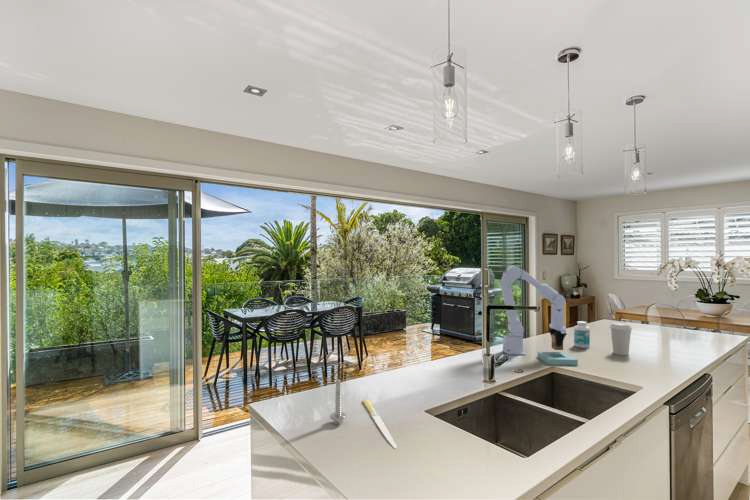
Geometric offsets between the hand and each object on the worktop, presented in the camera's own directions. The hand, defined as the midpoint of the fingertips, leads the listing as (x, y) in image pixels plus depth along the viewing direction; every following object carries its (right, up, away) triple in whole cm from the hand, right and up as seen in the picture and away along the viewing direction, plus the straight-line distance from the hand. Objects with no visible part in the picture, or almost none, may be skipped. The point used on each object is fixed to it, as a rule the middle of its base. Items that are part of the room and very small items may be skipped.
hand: (557, 345), depth 190 cm
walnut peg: (0, -2, 0) cm, 2 cm away
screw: (-102, -4, -76) cm, 128 cm away
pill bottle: (+21, -5, +16) cm, 27 cm away
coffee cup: (+33, -5, +2) cm, 34 cm away
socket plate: (-6, -5, -11) cm, 13 cm away
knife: (-89, -5, -75) cm, 117 cm away
